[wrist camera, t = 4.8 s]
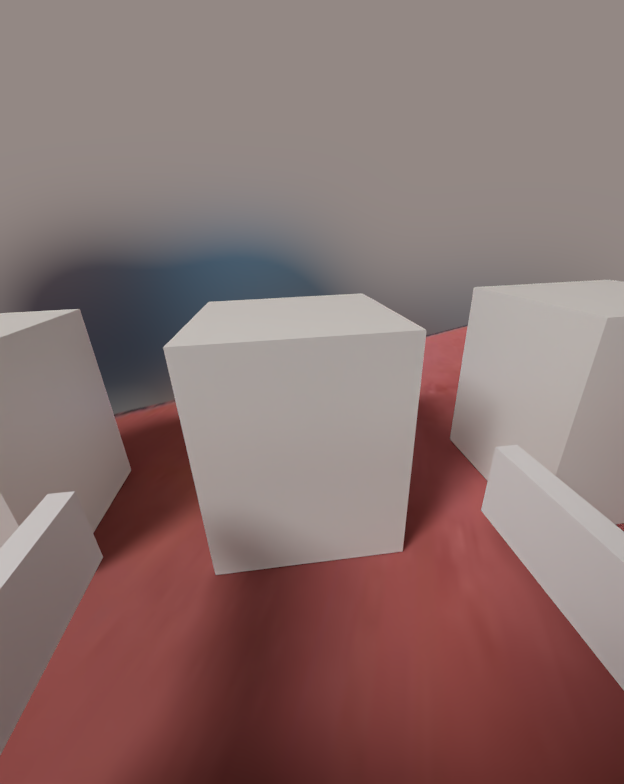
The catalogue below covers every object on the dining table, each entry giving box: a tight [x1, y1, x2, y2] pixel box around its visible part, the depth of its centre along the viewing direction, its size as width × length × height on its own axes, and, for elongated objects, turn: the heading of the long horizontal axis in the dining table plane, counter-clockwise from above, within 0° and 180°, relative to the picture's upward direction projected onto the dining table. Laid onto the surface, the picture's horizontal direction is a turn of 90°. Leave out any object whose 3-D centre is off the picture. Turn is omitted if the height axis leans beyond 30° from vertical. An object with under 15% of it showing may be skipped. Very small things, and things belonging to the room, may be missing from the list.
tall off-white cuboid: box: [163, 294, 426, 575], centre depth 18 cm, size 9×9×11 cm
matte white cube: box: [450, 280, 624, 524], centre depth 19 cm, size 9×9×11 cm
